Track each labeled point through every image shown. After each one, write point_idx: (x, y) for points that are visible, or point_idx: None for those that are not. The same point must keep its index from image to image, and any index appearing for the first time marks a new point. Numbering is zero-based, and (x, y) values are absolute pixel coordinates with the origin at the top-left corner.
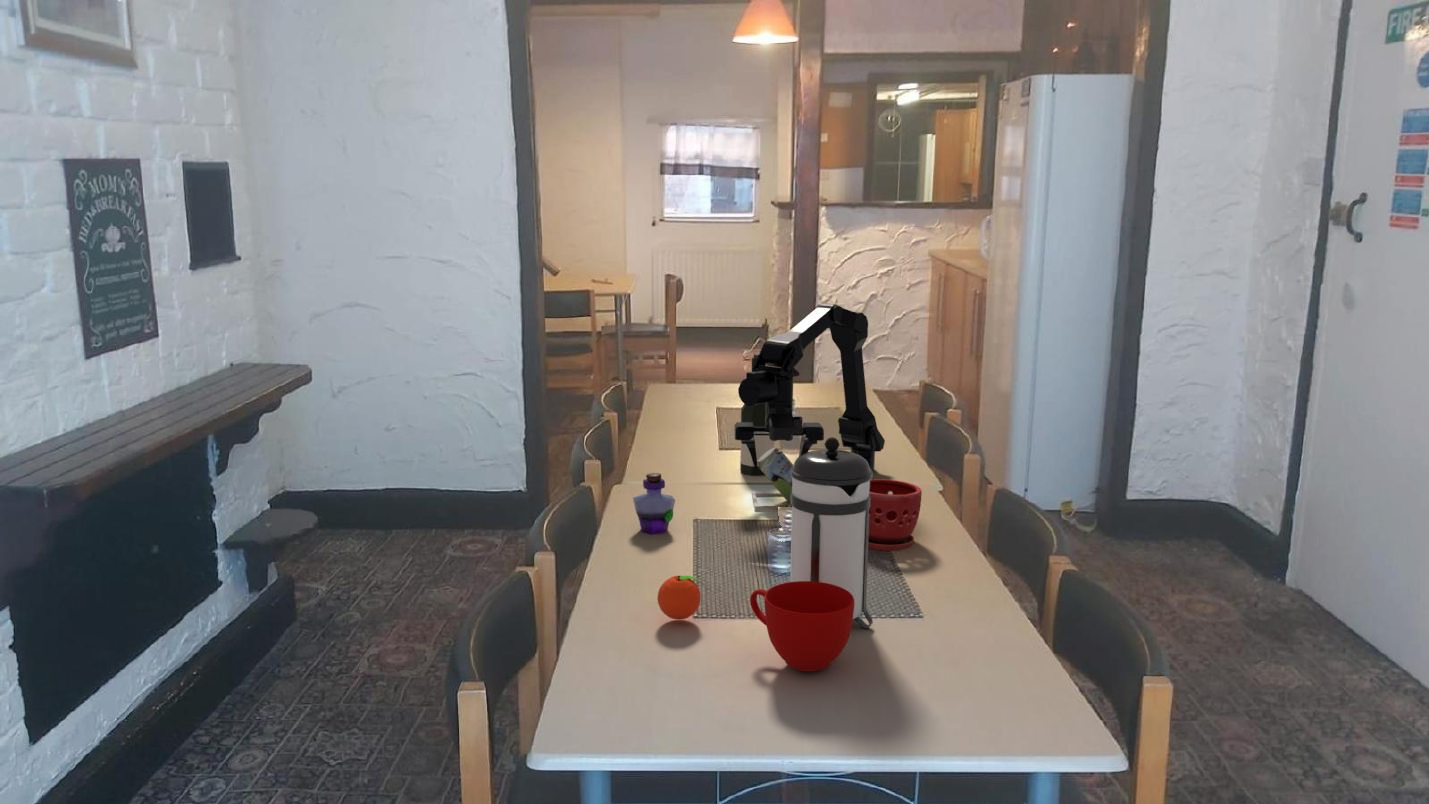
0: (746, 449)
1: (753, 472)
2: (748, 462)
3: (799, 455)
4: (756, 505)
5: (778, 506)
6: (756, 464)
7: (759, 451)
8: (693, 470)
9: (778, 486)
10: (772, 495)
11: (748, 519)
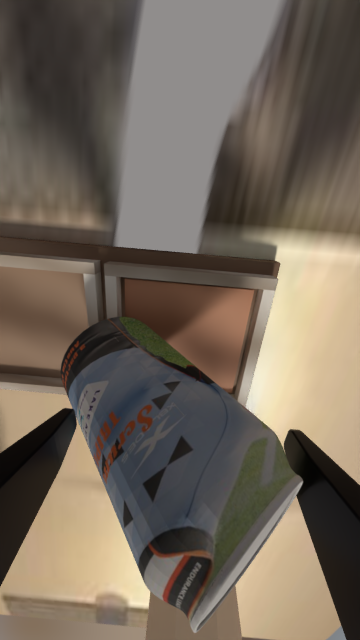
0: (228, 614)
1: None
2: None
3: (23, 515)
4: (267, 294)
5: (193, 275)
6: (316, 458)
7: None
8: (297, 559)
9: (183, 356)
10: None
11: (297, 238)
